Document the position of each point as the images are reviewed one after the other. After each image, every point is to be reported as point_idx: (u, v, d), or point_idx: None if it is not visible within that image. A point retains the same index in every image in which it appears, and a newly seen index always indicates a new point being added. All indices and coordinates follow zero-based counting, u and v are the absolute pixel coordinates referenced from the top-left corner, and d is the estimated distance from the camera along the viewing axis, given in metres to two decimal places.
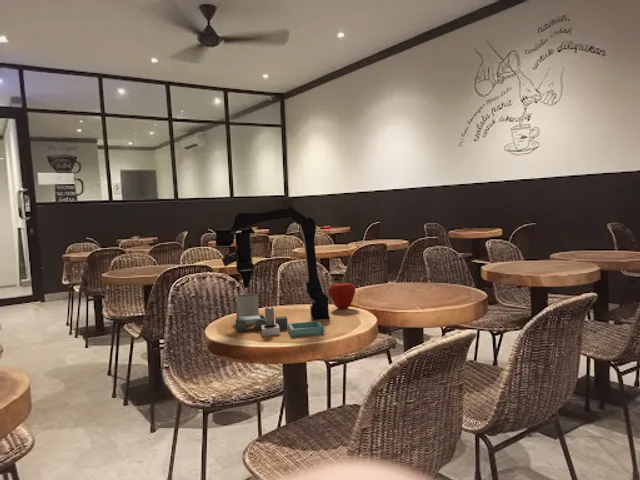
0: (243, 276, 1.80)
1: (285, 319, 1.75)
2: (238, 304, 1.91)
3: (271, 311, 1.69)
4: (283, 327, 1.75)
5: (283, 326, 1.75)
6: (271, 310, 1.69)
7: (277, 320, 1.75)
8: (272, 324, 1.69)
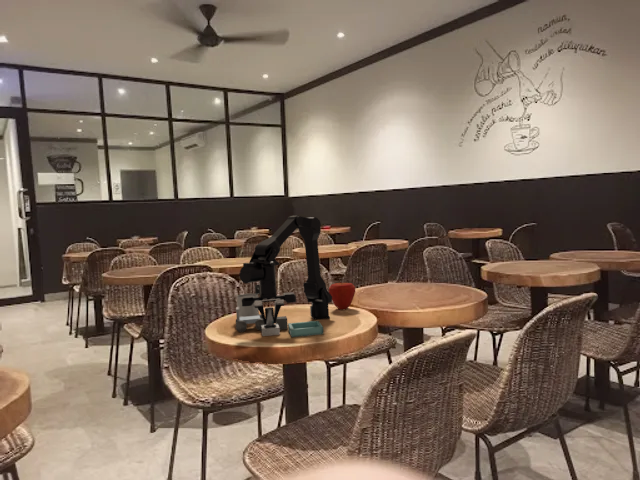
0: None
1: (285, 319, 1.75)
2: (238, 304, 1.91)
3: (271, 311, 1.69)
4: (283, 327, 1.75)
5: (283, 326, 1.75)
6: (271, 310, 1.69)
7: (277, 320, 1.75)
8: (272, 324, 1.69)
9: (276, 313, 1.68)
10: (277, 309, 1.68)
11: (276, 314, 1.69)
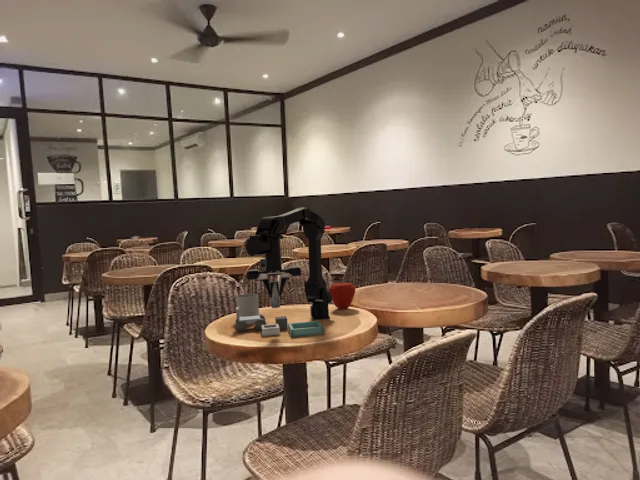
0: None
1: (285, 319, 1.75)
2: (238, 304, 1.91)
3: (276, 285, 1.68)
4: (283, 327, 1.75)
5: (283, 326, 1.75)
6: (276, 284, 1.68)
7: (277, 320, 1.75)
8: (277, 298, 1.68)
9: (281, 287, 1.68)
10: (282, 282, 1.67)
11: (281, 288, 1.68)
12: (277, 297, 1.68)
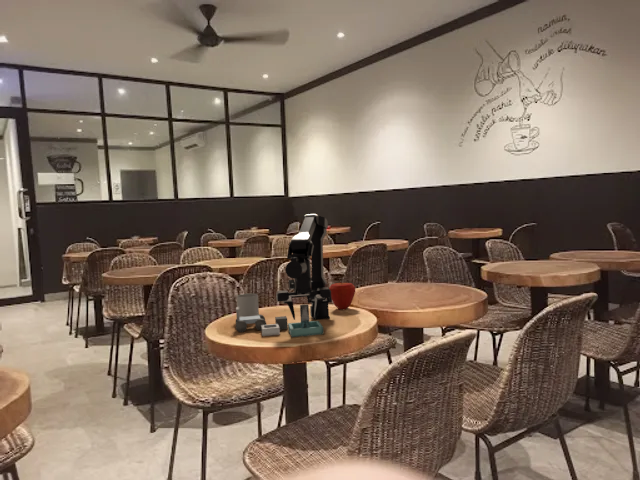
0: None
1: (285, 319, 1.75)
2: (238, 304, 1.91)
3: (306, 308, 1.68)
4: (283, 327, 1.75)
5: (283, 326, 1.75)
6: (306, 307, 1.68)
7: (277, 320, 1.75)
8: (307, 321, 1.68)
9: (317, 308, 1.68)
10: (318, 304, 1.67)
11: (317, 309, 1.68)
12: (307, 320, 1.68)
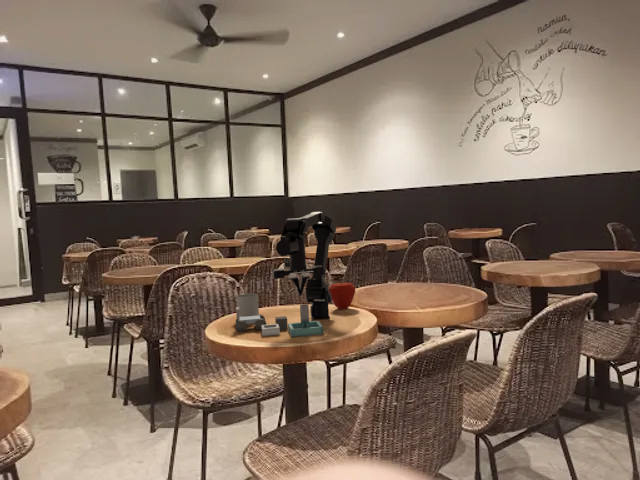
0: (294, 283, 1.77)
1: (285, 319, 1.75)
2: (238, 304, 1.91)
3: (306, 308, 1.68)
4: (283, 327, 1.75)
5: (283, 326, 1.75)
6: (306, 307, 1.68)
7: (277, 320, 1.75)
8: (307, 321, 1.68)
9: (302, 286, 1.75)
10: (303, 282, 1.74)
11: (302, 286, 1.75)
12: (307, 321, 1.68)
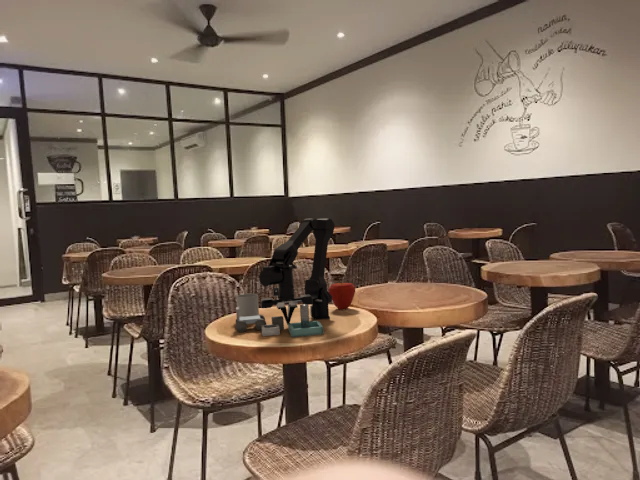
0: None
1: (281, 319, 1.75)
2: (238, 304, 1.91)
3: (306, 308, 1.68)
4: (279, 327, 1.75)
5: (280, 326, 1.75)
6: (306, 307, 1.68)
7: (273, 320, 1.75)
8: (307, 321, 1.68)
9: (289, 315, 1.76)
10: (291, 311, 1.75)
11: (290, 316, 1.76)
12: (307, 321, 1.68)
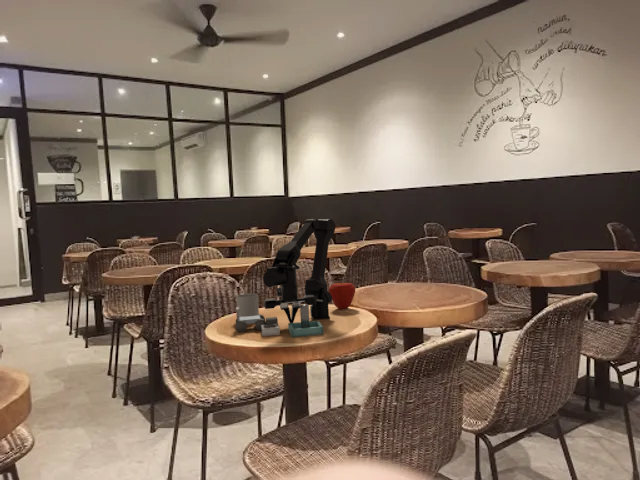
0: None
1: (275, 320, 1.75)
2: (238, 304, 1.91)
3: (306, 308, 1.68)
4: None
5: None
6: (306, 307, 1.68)
7: (267, 321, 1.74)
8: (307, 321, 1.68)
9: (293, 316, 1.76)
10: (294, 311, 1.75)
11: (293, 316, 1.76)
12: (307, 320, 1.68)
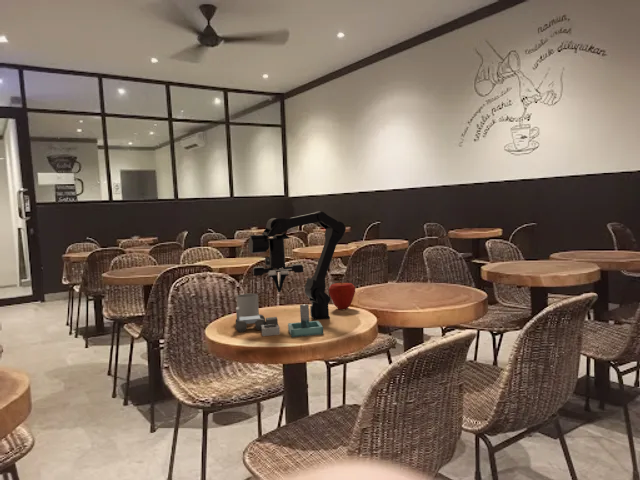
0: None
1: (275, 320, 1.75)
2: (238, 304, 1.91)
3: (306, 308, 1.68)
4: None
5: None
6: (306, 307, 1.68)
7: (267, 321, 1.74)
8: (307, 321, 1.68)
9: (281, 283, 1.82)
10: (282, 279, 1.82)
11: (281, 284, 1.82)
12: (307, 320, 1.68)
